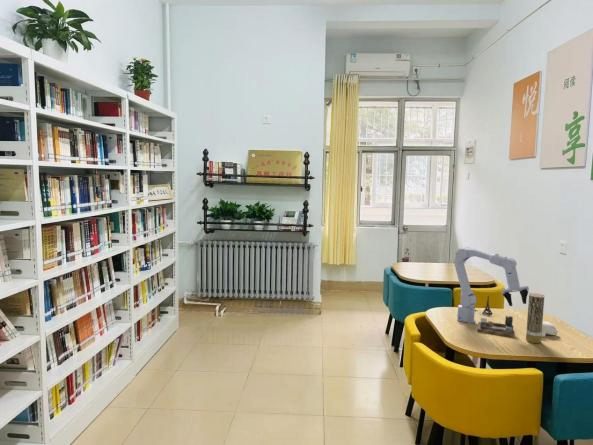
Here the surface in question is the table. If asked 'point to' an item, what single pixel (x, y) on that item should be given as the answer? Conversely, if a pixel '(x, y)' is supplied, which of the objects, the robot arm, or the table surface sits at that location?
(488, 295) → the eiffel tower figurine
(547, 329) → the white curved shape
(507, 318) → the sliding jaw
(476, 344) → the table surface
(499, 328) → the vise base
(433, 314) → the table surface
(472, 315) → the robot arm
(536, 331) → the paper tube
